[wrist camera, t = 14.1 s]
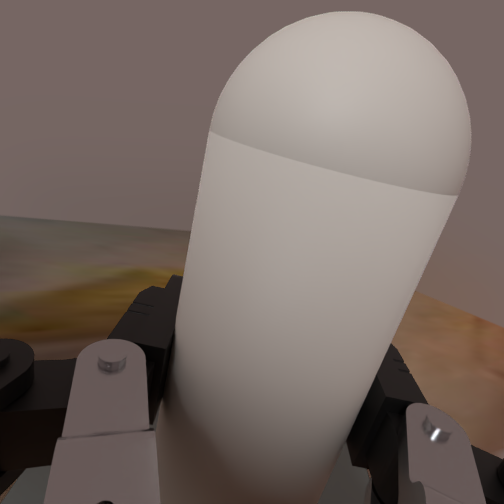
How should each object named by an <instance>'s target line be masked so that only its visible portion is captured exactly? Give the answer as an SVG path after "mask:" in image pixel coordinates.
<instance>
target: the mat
mask: <svg viewBox="0 0 504 504" xmlns="http://www.w3.org/2000/svg"><path fill="white" fill-rule="evenodd" d="M160 405H161V404H160ZM159 411H160V406H159V409H158V412H157V415H156V418H155V420H154V423H153V425H150V424H149V427H150V428H153V429H154V431H155V433H156V427H157V422H158V416H159ZM50 470H51V465H50V466H42V467H34V468H26V470H25V471H24V472H23V473H22V474H21V475H20V476H19V477H18V479H17V480H16V482H15V483H14V485H13V486H12V488H11V489H10V491H9V492H8V494H7V495H6V497H5V498H4V500H3V501H2V503H1V504H43V503H44V499H45V494H46V489H47V484H48V479H49V475H50ZM369 480H370V479H369V476H368V472H367V469H366V468H361V467H356V466H352V463H351V459H350V455H349V451H348V447H347V443H346V442H345V444H344V446H343V448H342V450H341V453H340V455H339V457H338V459H337V461H336V464H335V466H334V468H333V470H332V472H331V474H330V477H329V479H328V481H327V483H326V485H325V488H324V490H323V492H322V494H321V496H320V498H319V501H318V503H317V504H364V497H365V489H366V486H367V484H368V482H369Z"/></svg>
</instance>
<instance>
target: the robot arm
mask: <svg viewBox="0 0 504 504" xmlns="http://www.w3.org/2000/svg"><path fill="white" fill-rule="evenodd" d="M182 281H183V277H182V276H178V275H172V277H171V278H170V280H169V282H168V283H167V285H166V287H165V289H164V288H160V287H155V286H151V287H149V288H147V289H145V290H143V291H141V292H140V293H139V294H138V296H137V297H136V298H135V300H134V301H133V304H131V305H130V307H129V308H128V310H127V312H126V313H125V314H124V315H123V317H122V318H121V320H120V321H119V322H118V324H117V325H116V327H115V328H114V329H113V331H112V332H111V334H110V335H109V337H108V338H107V339H106V340H101V341H98V342H95V343H92V344H90V345H89V346H87V347H86V348H84V349H83V350H82V351H81V352H80V354H79V355H78V358H74V359H67V360H38V361H34V352H33V349H32V348H31V347H30V346H29V345H28V344H26V343H24V342H22V341H19V340H14V339H0V495H1V494H2V493H3V492H4V491H5V490H6V489H7V488H8V487H9V486H10V485H11V484H12V483H13V482H14V481H15V480H16V479H17V478H18V477H19V476H20V475H21V474H22V473H23V472H24V471H25V470H26V468H34V467H42V466H50V465H51V470H50V475H49V479H48V484H47V489H46V494H45V499H44V503H43V504H160V490H159V476H158V462H157V448H156V436H155V431H154V429H153V428H150V427H149V424H150V425H153V423H154V420H155V418H156V415H157V412H158V409H159V406H160V404H161V401H162V398H163V393H164V387H165V382H166V376H167V371H168V365H169V359H170V354H171V348H172V343H173V337H174V331H175V324H176V315H177V309H178V304H179V298H180V292H181V287H182ZM409 372H410V371H409V369H408V368H407V366H406V364H405V363H404V361H403V359H402V357H401V355H400V353H399V352H398V350H397V349H396V348H395V347H394V346H393V345H392V344H391V343H390V346H389V348H388V350H387V352H386V354H385V357H384V359H383V361H382V363H381V365H380V367H379V370H378V372H377V374H376V376H375V378H374V381H373V383H372V385H371V387H370V389H369V391H368V394H367V396H366V398H365V400H364V402H363V405H362V407H361V409H360V411H359V413H358V415H357V418H356V420H355V422H354V424H353V426H352V429H351V431H350V433H349V435H348V437H347V440H346V443H347V447H348V451H349V455H350V459H351V463H352V466H356V467H361V468H366V469H369V470H370V474H371V478H370V480H369V482H368V484H367V486H366V489H365V497H364V504H504V459H501V458H499V457H496V456H494V455H492V454H490V453H488V452H485V451H483V450H481V449H479V448H477V447H474V446H472V445H471V444H470V441H469V438H468V436H467V434H466V432H465V431H464V430H463V428H462V427H461V426H460V425H459V424H458V423H457V422H456V421H455V420H454V419H453V418H451V417H450V416H449V415H447V414H446V413H444V412H443V411H441V410H439V409H437V408H435V407H433V406H430V405H429V404H428V403H427V401H426V399H425V397H424V396H423V394H422V392H421V390H420V389H419V387H418V385H417V383H416V382H415V380H414V378H413V376H412V375H411V374H409Z"/></svg>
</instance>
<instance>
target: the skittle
mask: <svg viewBox="0 0 504 504" xmlns="http://www.w3.org/2000/svg"><path fill="white" fill-rule="evenodd" d="M470 149H471V124H470V115H469V111H468V106H467V102H466V98H465V95H464V93H463V90H462V88H461V86H460V83H459V81H458V78H457V76H456V74H455V73H454V71H453V70H452V68H451V67H450V65H449V63H448V62H447V60H446V59H445V58H444V57H443V56H442V55H441V53H440V52H439V51H438V50H437V49H436V48H435V47H434V46H433V45H432V44H431V43H430V42H429V41H428V40H427V39H425V38H424V37H422V36H421V35H420V34H419V33H417V32H416V31H415V30H413V29H411V28H410V27H408V26H406V25H404V24H401V23H399V22H396V21H395V20H392V19H390V18H387V17H384V16H381V15H377V14H372V13H366V12H330V13H325V14H320V15H316V16H312V17H307V18H305V19H303V20H300V21H298V22H296V23H293V24H290V25H288V26H286V27H284V28H283V29H281V30H279V31H277V32H276V33H274V34H273V35H271V36H269V37H268V38H267V39H266V40H264V41H263V42H262V43H261V44H259V45H258V46H257V47H256V48H255V49H253V50H252V51H251V52H250V53H249V54H248V56H247V57H246V58H245V59H244V60H243V61H242V62H241V63H240V64H239V66H238V67H237V68H236V70H235V71H234V73H233V74H232V76H231V77H230V78H229V80H228V82H227V83H226V85H225V87H224V89H223V91H222V93H221V95H220V97H219V100H218V102H217V105H216V107H215V110H214V113H213V117H212V121H211V125H210V130H209V135H208V140H207V146H206V151H205V157H204V163H203V168H202V174H201V180H200V185H199V191H198V197H197V202H196V208H195V214H194V219H193V225H192V230H191V236H190V242H189V247H188V253H187V259H186V264H185V270H184V275H183V281H182V287H181V292H180V298H179V304H178V309H177V315H176V324H175V331H174V337H173V343H172V348H171V354H170V359H169V365H168V371H167V376H166V382H165V387H164V393H163V398H162V401H161V405H160V411H159V416H158V422H157V427H156V433H155V436H156V448H157V462H158V476H159V490H160V504H317V503H318V501H319V498H320V496H321V494H322V492H323V490H324V488H325V485H326V483H327V481H328V479H329V477H330V474H331V472H332V470H333V468H334V466H335V464H336V461H337V459H338V457H339V455H340V453H341V450H342V448H343V446H344V444H345V442H346V440H347V437H348V435H349V433H350V431H351V429H352V426H353V424H354V422H355V420H356V418H357V415H358V413H359V411H360V409H361V407H362V405H363V402H364V400H365V398H366V396H367V394H368V391H369V389H370V387H371V385H372V383H373V381H374V378H375V376H376V374H377V372H378V370H379V367H380V365H381V363H382V361H383V359H384V357H385V354H386V352H387V350H388V348H389V346H390V343H391V341H392V339H393V337H394V335H395V333H396V330H397V328H398V326H399V324H400V322H401V319H402V317H403V315H404V313H405V311H406V309H407V306H408V304H409V302H410V300H411V298H412V295H413V293H414V291H415V289H416V287H417V284H418V282H419V280H420V278H421V276H422V274H423V271H424V269H425V267H426V265H427V263H428V261H429V258H430V256H431V254H432V252H433V249H434V247H435V245H436V243H437V241H438V239H439V236H440V234H441V232H442V230H443V228H444V226H445V223H446V221H447V219H448V217H449V215H450V212H451V210H452V208H453V206H454V204H455V202H456V199H457V197H458V195H459V192H460V190H461V187H462V184H463V182H464V179H465V176H466V172H467V168H468V163H469V159H470Z"/></svg>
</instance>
